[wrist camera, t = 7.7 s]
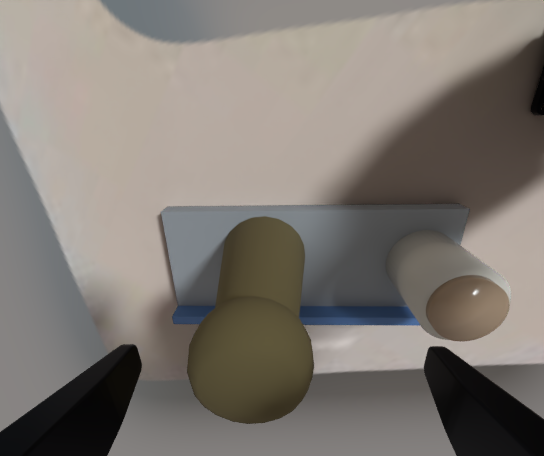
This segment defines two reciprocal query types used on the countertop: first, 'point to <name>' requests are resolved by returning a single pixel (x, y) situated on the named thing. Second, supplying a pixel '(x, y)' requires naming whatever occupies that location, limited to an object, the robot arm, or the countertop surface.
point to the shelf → (309, 256)
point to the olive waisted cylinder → (254, 328)
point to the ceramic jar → (447, 286)
